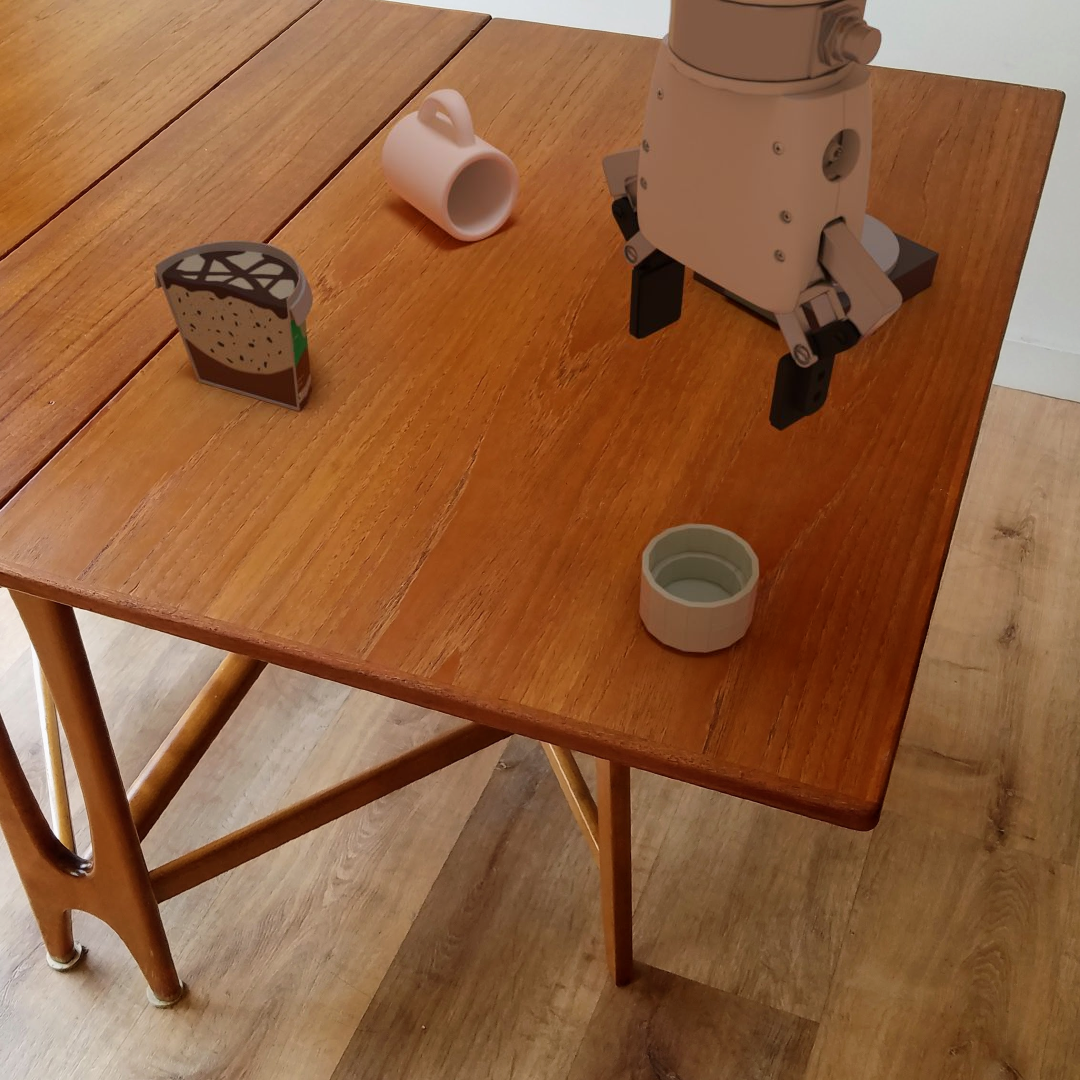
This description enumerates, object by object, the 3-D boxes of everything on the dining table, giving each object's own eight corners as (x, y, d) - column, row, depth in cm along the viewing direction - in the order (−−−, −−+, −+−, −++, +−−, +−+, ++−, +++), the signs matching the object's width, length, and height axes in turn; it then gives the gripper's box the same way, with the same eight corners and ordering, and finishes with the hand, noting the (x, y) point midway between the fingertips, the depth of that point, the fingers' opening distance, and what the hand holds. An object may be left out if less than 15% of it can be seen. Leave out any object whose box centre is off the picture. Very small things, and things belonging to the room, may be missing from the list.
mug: (460, 182, 111) (450, 56, 102) (521, 225, 105) (516, 95, 96) (385, 208, 107) (369, 80, 99) (444, 254, 101) (432, 123, 93)
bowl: (774, 619, 70) (783, 567, 67) (695, 676, 67) (701, 625, 64) (694, 558, 74) (699, 507, 71) (616, 610, 71) (618, 559, 68)
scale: (931, 285, 96) (941, 244, 93) (816, 353, 90) (824, 311, 87) (802, 222, 104) (809, 182, 101) (688, 280, 97) (691, 240, 95)
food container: (360, 371, 89) (341, 257, 82) (317, 416, 85) (293, 301, 78) (229, 335, 93) (201, 223, 86) (182, 377, 89) (148, 263, 82)
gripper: (1007, 62, 43) (908, 422, 55) (678, -56, 52) (656, 273, 64) (877, 121, 39) (803, 491, 51) (551, -16, 49) (553, 323, 61)
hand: (721, 370), depth 58 cm, fingers open, 9 cm apart
